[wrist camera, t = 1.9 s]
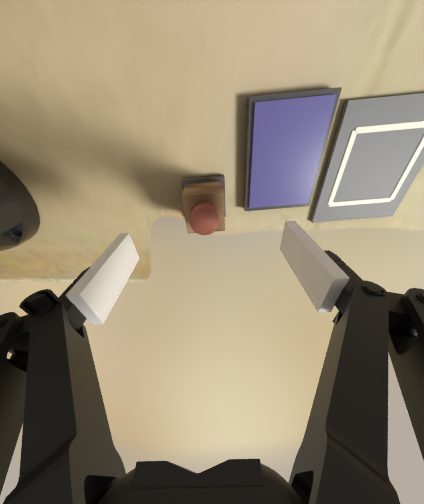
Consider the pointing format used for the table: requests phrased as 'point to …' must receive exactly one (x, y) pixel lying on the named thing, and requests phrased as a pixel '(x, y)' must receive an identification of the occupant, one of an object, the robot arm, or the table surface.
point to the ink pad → (286, 146)
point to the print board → (372, 158)
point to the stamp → (204, 204)
